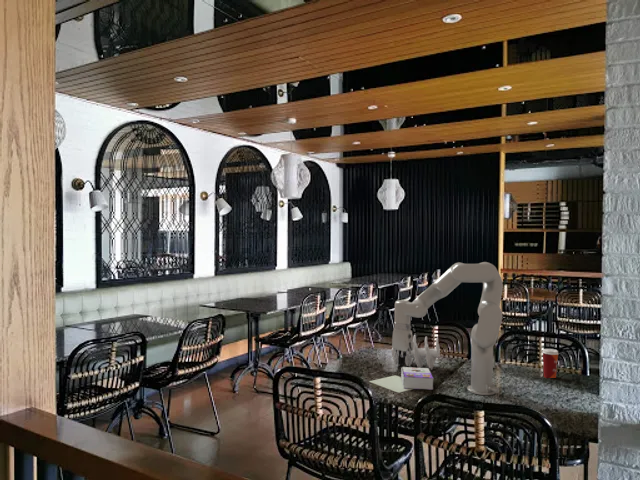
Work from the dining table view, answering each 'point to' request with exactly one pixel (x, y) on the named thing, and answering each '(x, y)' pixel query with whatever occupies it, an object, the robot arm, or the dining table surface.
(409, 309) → the robot arm
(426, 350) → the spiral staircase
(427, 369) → the candy box
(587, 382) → the dining table surface
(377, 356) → the dining table surface
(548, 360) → the paper cup
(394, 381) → the mat
